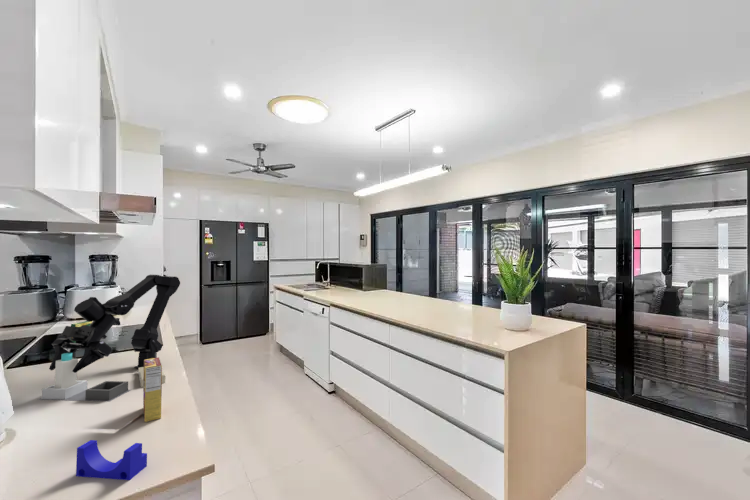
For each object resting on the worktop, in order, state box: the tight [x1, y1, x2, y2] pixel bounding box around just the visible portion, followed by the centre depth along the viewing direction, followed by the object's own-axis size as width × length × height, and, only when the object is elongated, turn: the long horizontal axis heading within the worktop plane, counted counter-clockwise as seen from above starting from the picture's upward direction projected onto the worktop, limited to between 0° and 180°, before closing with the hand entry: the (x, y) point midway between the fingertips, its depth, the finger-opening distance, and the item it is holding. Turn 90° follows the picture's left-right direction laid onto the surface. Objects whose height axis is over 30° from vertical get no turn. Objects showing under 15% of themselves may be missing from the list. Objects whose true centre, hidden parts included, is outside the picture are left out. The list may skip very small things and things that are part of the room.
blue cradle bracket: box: [75, 439, 148, 481], centre depth 70 cm, size 12×4×6 cm, turn 85°
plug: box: [54, 353, 79, 389], centre depth 106 cm, size 4×4×13 cm
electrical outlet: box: [137, 367, 167, 388], centre depth 121 cm, size 7×4×18 cm
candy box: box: [142, 357, 163, 423], centre depth 95 cm, size 9×4×15 cm, turn 37°
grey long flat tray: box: [36, 379, 132, 403], centre depth 105 cm, size 9×23×4 cm, turn 89°
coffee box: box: [70, 320, 93, 343], centre depth 159 cm, size 8×3×13 cm, turn 169°
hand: (62, 370), depth 105 cm, fingers open, 9 cm apart
